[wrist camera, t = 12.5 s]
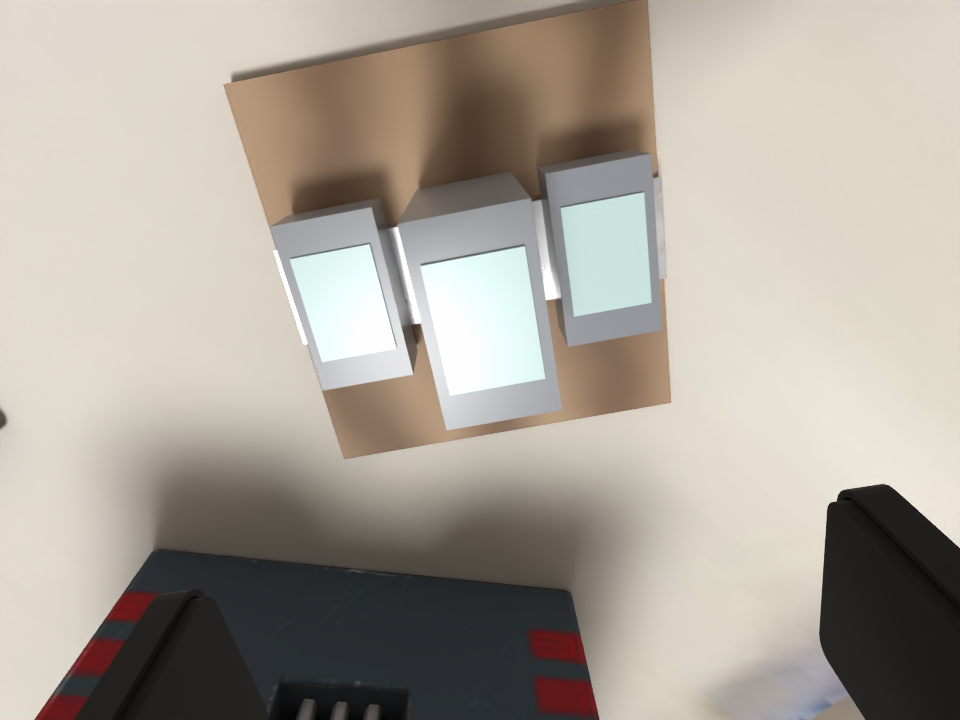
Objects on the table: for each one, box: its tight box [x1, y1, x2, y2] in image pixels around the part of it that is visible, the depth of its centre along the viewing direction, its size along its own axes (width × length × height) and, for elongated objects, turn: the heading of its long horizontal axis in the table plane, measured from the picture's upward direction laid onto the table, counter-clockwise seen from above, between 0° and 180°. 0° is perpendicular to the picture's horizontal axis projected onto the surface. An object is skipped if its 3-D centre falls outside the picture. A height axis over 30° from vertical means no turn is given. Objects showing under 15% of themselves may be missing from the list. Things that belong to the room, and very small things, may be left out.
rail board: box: [223, 0, 671, 459], centre depth 28 cm, size 19×20×5 cm
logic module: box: [397, 172, 562, 431], centre depth 25 cm, size 4×8×9 cm, turn 10°
